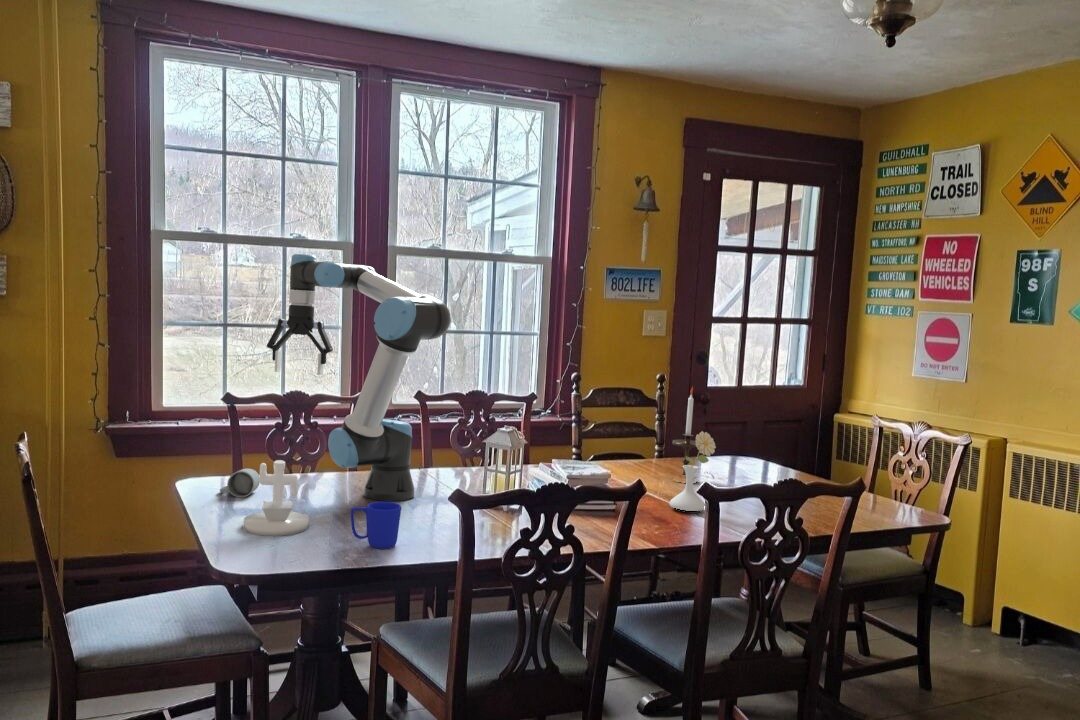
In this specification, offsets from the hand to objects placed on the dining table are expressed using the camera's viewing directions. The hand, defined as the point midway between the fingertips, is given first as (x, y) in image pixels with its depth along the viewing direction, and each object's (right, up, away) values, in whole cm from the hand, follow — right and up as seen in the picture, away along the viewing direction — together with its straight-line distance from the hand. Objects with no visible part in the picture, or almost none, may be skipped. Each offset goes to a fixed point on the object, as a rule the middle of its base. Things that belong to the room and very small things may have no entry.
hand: (298, 373), depth 259 cm
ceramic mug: (-13, -35, -15) cm, 41 cm away
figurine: (+8, -37, -45) cm, 59 cm away
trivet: (+7, -39, -45) cm, 60 cm away
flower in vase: (+122, -43, +1) cm, 129 cm away
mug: (+35, -41, -56) cm, 78 cm away
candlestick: (+128, -40, +45) cm, 141 cm away
